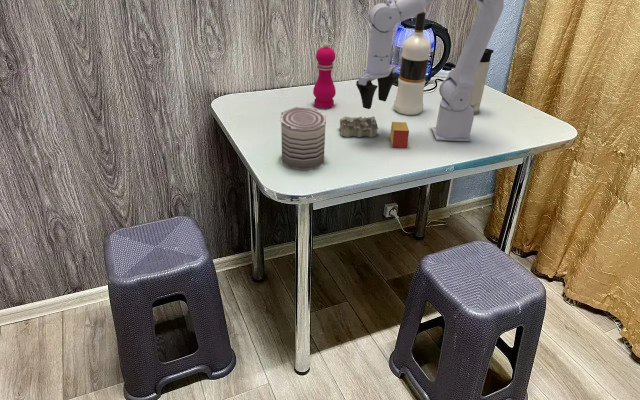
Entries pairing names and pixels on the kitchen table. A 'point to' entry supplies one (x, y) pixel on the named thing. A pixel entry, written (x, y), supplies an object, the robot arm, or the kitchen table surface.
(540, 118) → the kitchen table surface
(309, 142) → the can
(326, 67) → the pepper mill
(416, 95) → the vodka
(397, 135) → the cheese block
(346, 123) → the egg carton
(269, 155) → the kitchen table surface
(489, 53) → the travel mug
